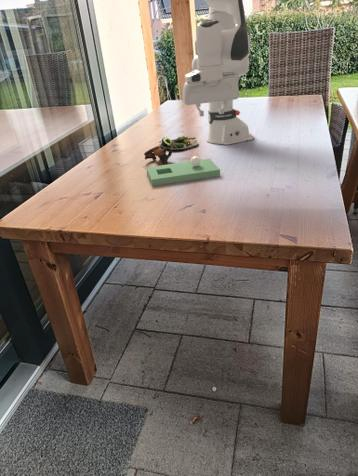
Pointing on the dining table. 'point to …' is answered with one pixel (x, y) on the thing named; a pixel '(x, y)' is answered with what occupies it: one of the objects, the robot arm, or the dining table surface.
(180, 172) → the green board
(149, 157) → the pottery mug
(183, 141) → the salad plate
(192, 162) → the ball
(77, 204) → the dining table surface
